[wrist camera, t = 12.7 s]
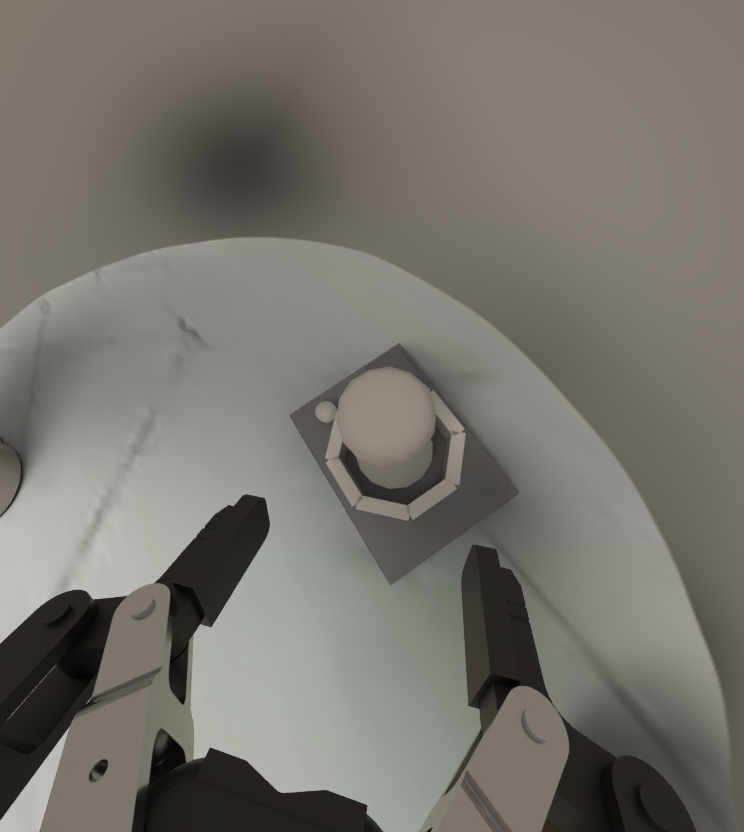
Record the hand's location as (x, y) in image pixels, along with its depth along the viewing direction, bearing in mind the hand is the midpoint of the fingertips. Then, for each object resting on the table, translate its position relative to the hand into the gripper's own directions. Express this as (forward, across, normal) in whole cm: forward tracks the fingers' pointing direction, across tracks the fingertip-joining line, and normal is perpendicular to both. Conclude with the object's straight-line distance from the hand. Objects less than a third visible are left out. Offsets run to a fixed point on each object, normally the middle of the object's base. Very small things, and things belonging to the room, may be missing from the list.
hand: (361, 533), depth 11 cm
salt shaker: (+12, 0, +5) cm, 13 cm away
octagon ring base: (+14, 0, +7) cm, 16 cm away
